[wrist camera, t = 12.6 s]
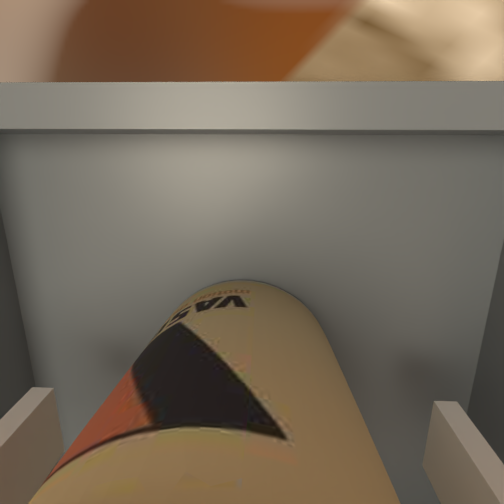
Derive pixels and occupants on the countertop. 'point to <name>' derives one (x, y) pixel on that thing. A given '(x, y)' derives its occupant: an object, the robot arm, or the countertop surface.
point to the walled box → (260, 236)
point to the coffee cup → (227, 415)
